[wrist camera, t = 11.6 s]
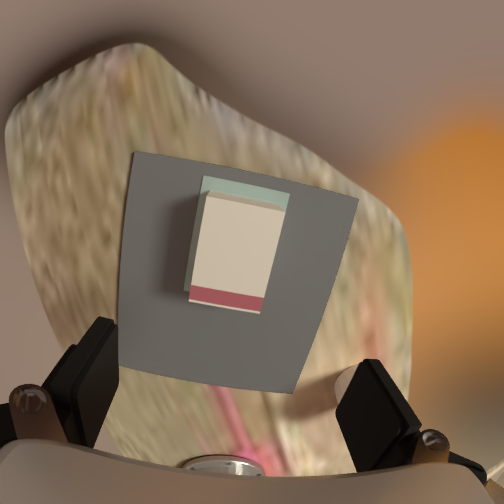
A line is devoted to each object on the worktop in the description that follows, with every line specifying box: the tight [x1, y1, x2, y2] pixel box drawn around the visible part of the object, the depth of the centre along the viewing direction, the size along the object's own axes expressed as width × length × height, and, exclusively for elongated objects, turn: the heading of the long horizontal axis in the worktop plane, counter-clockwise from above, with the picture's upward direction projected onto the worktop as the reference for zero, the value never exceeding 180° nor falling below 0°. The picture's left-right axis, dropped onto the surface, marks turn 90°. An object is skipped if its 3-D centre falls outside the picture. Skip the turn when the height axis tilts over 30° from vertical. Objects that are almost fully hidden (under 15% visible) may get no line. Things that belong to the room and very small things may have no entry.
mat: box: [118, 151, 359, 394], centre depth 27 cm, size 22×19×1 cm
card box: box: [189, 190, 286, 314], centre depth 24 cm, size 8×6×4 cm
